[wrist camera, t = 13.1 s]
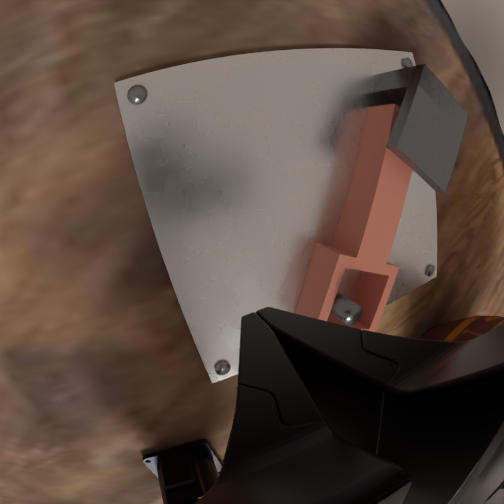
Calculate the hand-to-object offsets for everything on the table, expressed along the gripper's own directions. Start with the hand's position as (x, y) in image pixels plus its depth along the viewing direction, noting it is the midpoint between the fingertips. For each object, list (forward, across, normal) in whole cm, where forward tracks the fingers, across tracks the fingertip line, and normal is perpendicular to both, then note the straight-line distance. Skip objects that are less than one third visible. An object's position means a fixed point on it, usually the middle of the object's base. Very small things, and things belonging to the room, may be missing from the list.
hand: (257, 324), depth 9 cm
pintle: (+12, -8, +7) cm, 16 cm away
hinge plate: (+12, -10, 0) cm, 15 cm away
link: (+12, -12, +2) cm, 17 cm away
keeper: (+12, -17, -4) cm, 21 cm away
